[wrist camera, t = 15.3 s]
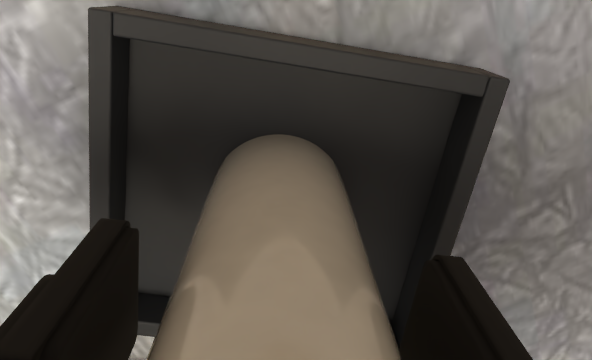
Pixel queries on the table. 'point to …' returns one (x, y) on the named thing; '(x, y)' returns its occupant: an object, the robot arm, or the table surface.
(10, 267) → the table surface
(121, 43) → the tray
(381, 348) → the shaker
